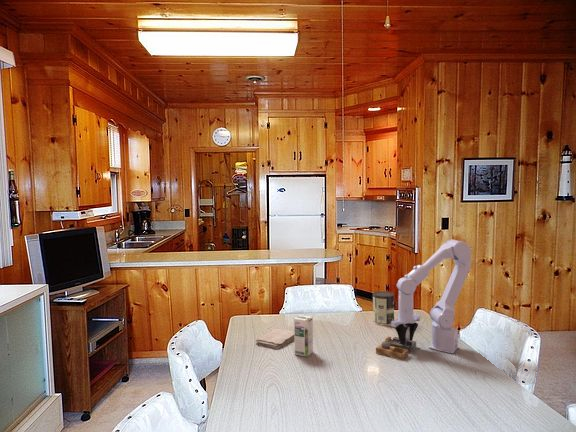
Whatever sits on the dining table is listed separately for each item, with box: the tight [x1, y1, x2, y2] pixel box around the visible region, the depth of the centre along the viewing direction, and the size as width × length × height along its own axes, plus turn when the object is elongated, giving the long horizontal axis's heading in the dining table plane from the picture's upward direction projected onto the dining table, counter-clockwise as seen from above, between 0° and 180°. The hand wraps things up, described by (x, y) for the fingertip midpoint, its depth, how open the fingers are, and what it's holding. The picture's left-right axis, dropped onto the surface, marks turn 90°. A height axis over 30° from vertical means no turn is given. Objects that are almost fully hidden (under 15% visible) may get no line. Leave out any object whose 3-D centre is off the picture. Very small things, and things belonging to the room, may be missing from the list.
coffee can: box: [372, 291, 395, 327], centre depth 187 cm, size 10×10×14 cm
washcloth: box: [255, 328, 295, 350], centre depth 166 cm, size 12×18×3 cm, turn 150°
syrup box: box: [293, 314, 314, 358], centre depth 151 cm, size 6×6×14 cm
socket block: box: [389, 336, 417, 354], centre depth 156 cm, size 9×8×2 cm
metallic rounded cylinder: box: [402, 324, 410, 346], centre depth 155 cm, size 3×3×9 cm
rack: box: [375, 341, 409, 361], centre depth 149 cm, size 11×5×4 cm, turn 52°
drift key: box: [384, 336, 399, 343], centre depth 158 cm, size 5×3×3 cm
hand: (405, 341), depth 155 cm, fingers open, 4 cm apart
